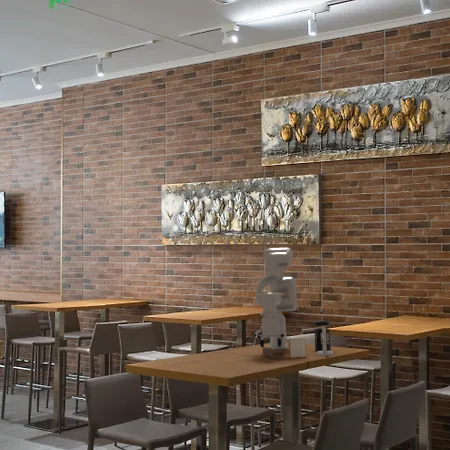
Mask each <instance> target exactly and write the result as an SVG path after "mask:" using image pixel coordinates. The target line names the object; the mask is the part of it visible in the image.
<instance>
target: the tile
mask: <svg viewBox="0 0 450 450" xmlns="http://www.w3.org/2000/svg"><path fill="white" fill-rule="evenodd" d="M306 342H307V341H306V338H305V337H303V338H302V337H301V338H288V346H289V348H288V358H289V359H297V358H296V357H300V358H307V347H306Z"/></svg>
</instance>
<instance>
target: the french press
mask: <svg viewBox="0 0 450 450" xmlns="http://www.w3.org/2000/svg"><path fill="white" fill-rule="evenodd" d="M317 312H318V313H320V315H321V318H323V312H326V311H325V310H318V311H317ZM313 323H314V326H316V327H319V326H321V329H320V328H317V329H314V344H315V345H314V352H316V351H317V352H318V351H323V340H322V337H323V327H326V326H330V323H331V320H324V319H321V320H315V321H314V322H313ZM331 344H332V343H331V329H328V328H326V347H327V351H332V347H331ZM317 352H316V353H317Z"/></svg>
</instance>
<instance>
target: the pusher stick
mask: <svg viewBox="0 0 450 450" xmlns="http://www.w3.org/2000/svg"><path fill="white" fill-rule="evenodd" d="M268 347H269V346H266V347H265V346H264V347H262V355H263V356H265V357H268V358H270V359H271V360H272V361H275V360H284V358H285V357H284V351H283V350H282V351H280V350H274V349H271V348H268Z"/></svg>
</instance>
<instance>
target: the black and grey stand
mask: <svg viewBox="0 0 450 450" xmlns="http://www.w3.org/2000/svg"><path fill="white" fill-rule="evenodd" d="M322 328H323V337H322V336H321V339H322V340H323V341H322V344H323V351H318V352H316V353H315V356H317V355H319V357H329V356H330V357H331V355H332V356H334V355H335V354H334V352H333V350H331V351H327V347H326V329H327V328H326V326H322Z"/></svg>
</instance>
